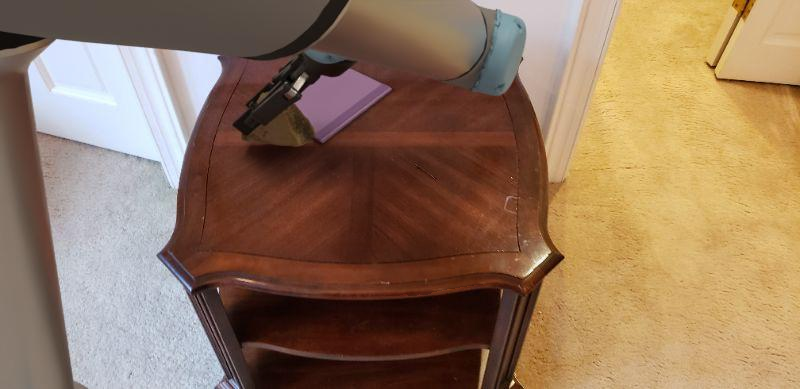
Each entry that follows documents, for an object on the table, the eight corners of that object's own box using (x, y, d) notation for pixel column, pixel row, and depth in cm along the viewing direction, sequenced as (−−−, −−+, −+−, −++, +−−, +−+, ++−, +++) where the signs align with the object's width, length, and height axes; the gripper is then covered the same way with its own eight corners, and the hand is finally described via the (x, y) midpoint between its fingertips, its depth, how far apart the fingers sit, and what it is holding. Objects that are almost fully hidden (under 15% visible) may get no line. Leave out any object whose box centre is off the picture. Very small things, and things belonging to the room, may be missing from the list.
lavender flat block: (322, 143, 90) (322, 140, 90) (268, 112, 96) (267, 109, 95) (391, 90, 100) (391, 87, 99) (338, 64, 105) (338, 61, 105)
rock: (220, 136, 84) (267, 151, 79) (231, 81, 83) (280, 92, 78) (269, 143, 93) (314, 157, 89) (280, 94, 93) (326, 105, 88)
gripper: (340, 98, 66) (243, 172, 81) (377, 23, 77) (286, 101, 92) (292, 54, 63) (200, 140, 78) (338, -17, 74) (249, 70, 89)
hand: (246, 118), depth 85 cm, fingers closed on rock, 4 cm apart
